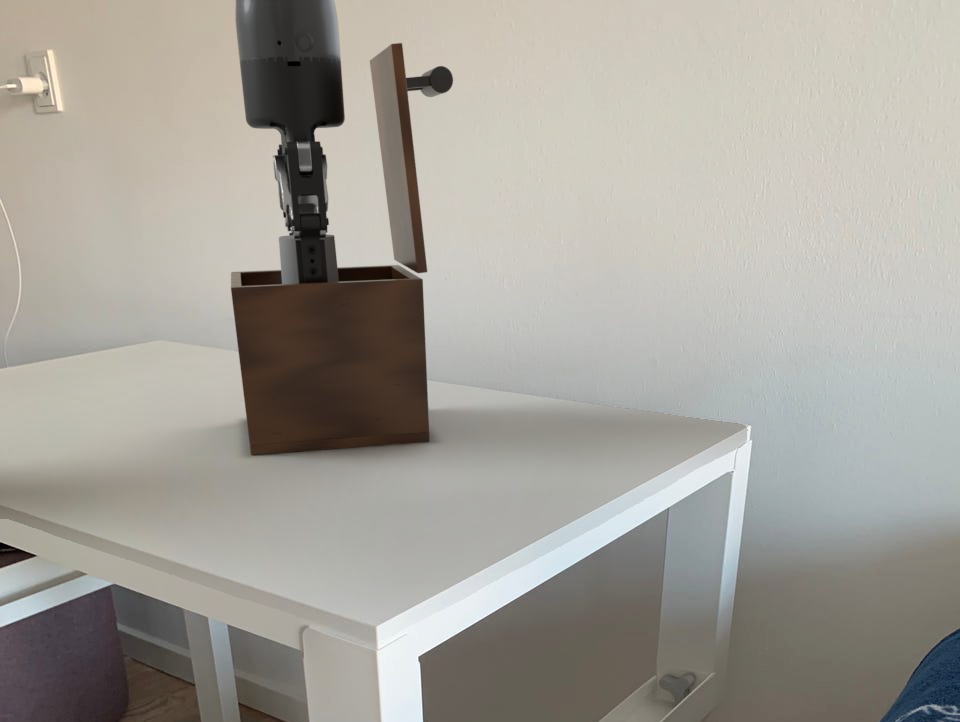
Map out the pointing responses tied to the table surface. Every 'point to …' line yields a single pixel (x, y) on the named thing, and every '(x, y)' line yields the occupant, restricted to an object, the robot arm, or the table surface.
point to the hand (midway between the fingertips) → (310, 284)
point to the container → (290, 259)
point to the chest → (332, 359)
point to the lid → (402, 148)
